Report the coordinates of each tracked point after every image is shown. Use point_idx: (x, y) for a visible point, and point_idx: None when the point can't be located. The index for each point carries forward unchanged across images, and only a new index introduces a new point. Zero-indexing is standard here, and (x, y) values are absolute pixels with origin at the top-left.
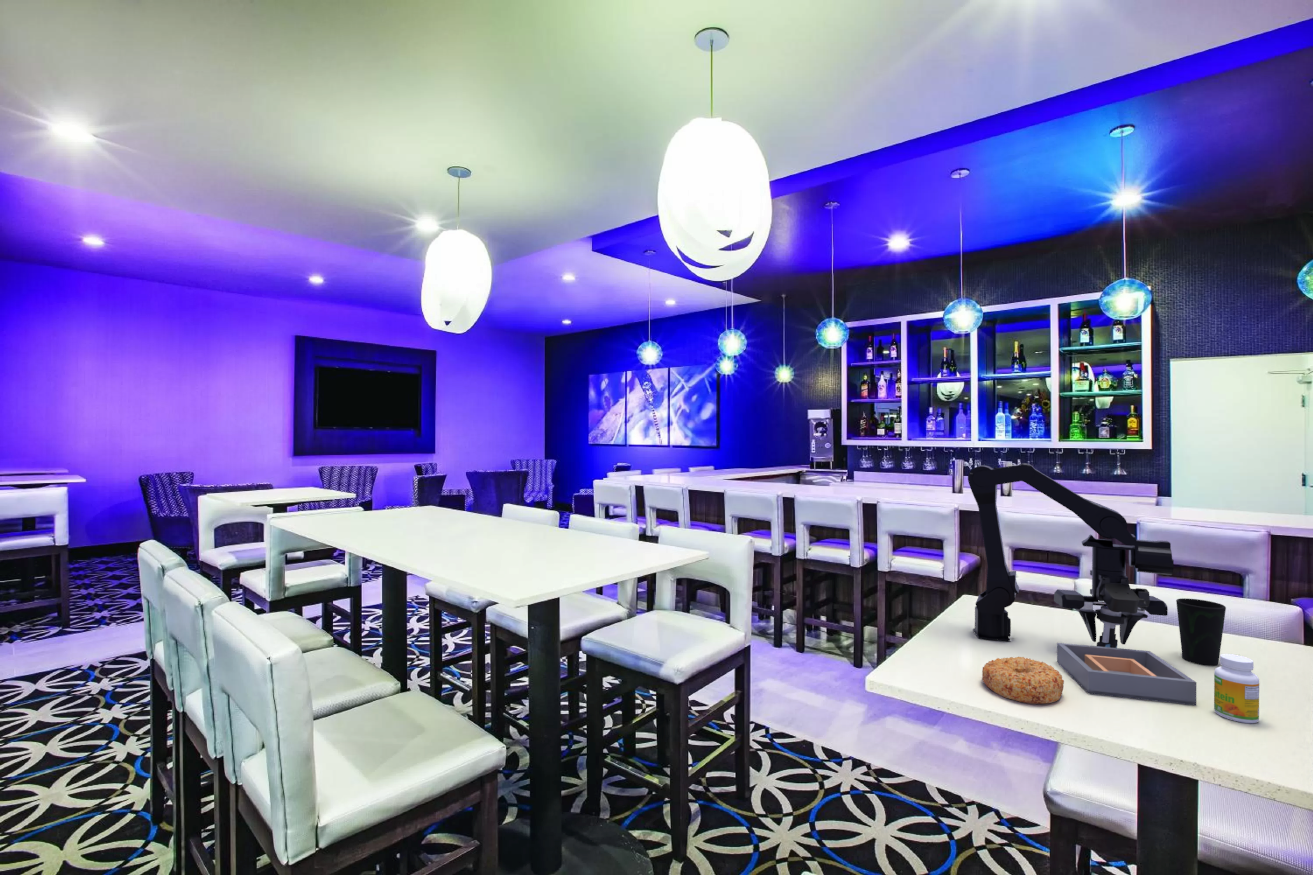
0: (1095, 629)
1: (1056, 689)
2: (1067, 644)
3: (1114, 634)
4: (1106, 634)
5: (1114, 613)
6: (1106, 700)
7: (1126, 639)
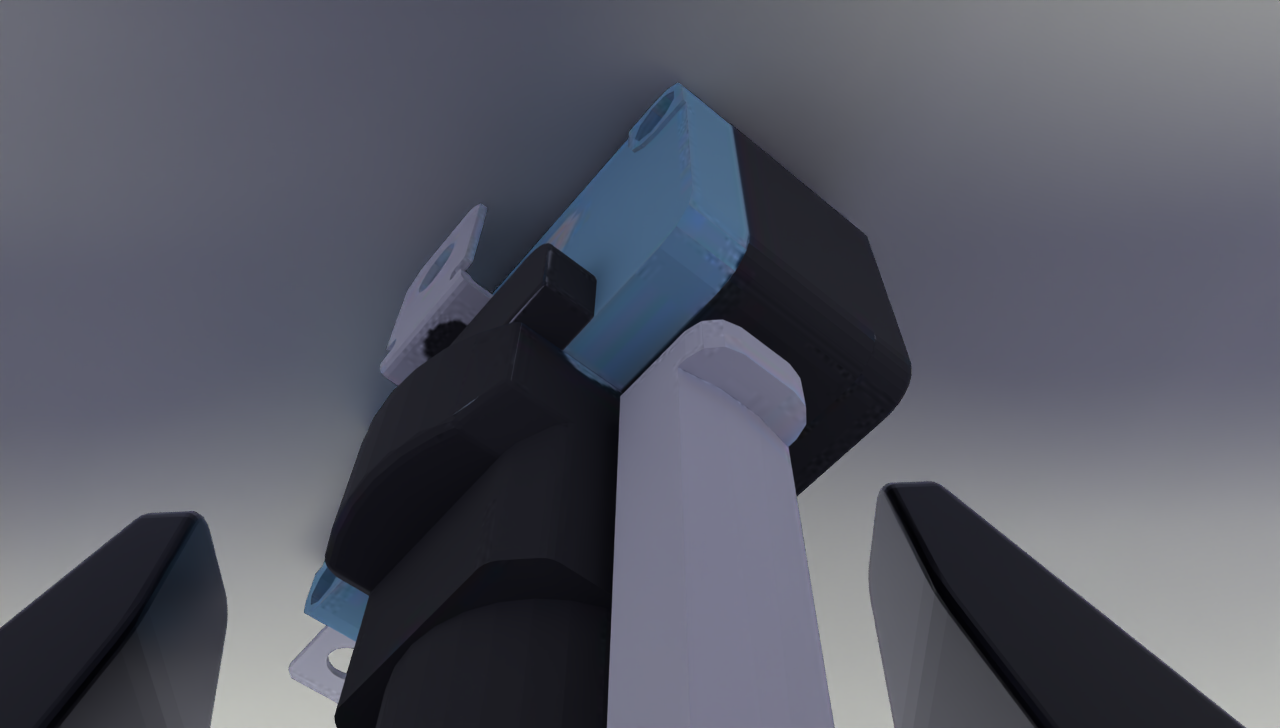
0: (1068, 718)
1: None
2: None
3: (403, 657)
4: (732, 523)
5: None
6: None
7: (59, 597)
